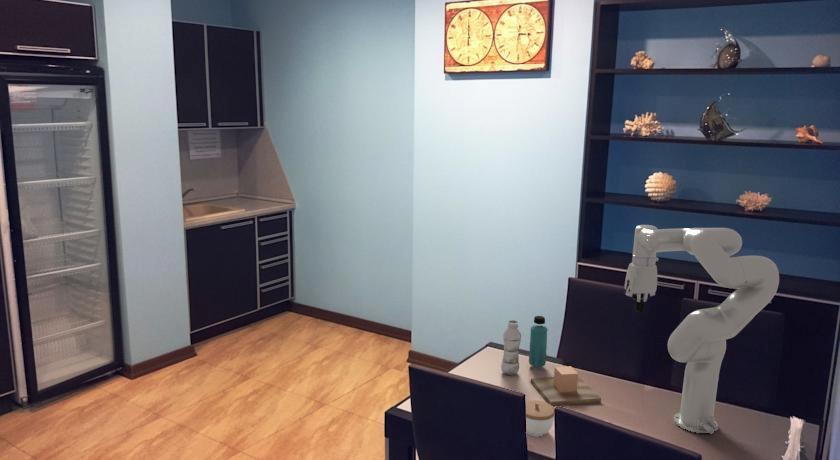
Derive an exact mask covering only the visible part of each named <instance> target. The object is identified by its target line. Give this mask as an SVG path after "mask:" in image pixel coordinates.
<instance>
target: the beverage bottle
mask: <svg viewBox="0 0 840 460" xmlns="http://www.w3.org/2000/svg"><path fill="white" fill-rule="evenodd" d="M533 323H535V324H533V325H532V326H530V336H529V338H530V339H529V351H528V364H529V365H530V366H532V367H536V368H541V367H545V366H546V362H547V348H548V346H547V345H548V331H549V330H548V327H547V326H546V325H545V324H546V317H544V316H542V315H535V316H534V318H533Z"/></svg>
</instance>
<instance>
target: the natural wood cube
mask: <svg viewBox="0 0 840 460" xmlns="http://www.w3.org/2000/svg"><path fill="white" fill-rule="evenodd" d="M553 370H554V373H553V377H554V384H553V385H554V386H555V387H556V388H557V389H558V390H559V391H560V392H573V391H577V384H578V376H579V373H578V371H576V370H575V369H574V368H573V367H572V366H570V365H569V366H554V369H553Z"/></svg>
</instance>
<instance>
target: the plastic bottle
mask: <svg viewBox="0 0 840 460" xmlns="http://www.w3.org/2000/svg"><path fill="white" fill-rule="evenodd" d="M506 327H507V328H506V330H504V332H503V334H502V336H503V337H502V338H503V339H502V340H503V356H502V361H501V365H500V367H501V372H502V373H503V374H504V375H507V376H514V375H515V376H516V375H518V373H519V371H520V362H519V361H520V360H519V352H520V351H519V350H520V346H521V345H520V344H521V341H522V333H521V332H520V330H519V329H518V328H519V322H518V321H517V320H512V319H511V320H508V321H507V326H506Z"/></svg>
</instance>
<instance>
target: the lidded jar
mask: <svg viewBox="0 0 840 460" xmlns="http://www.w3.org/2000/svg"><path fill="white" fill-rule="evenodd" d="M525 401H526V423H527V433H526V435H529V436H530V437H535V438H539V436H541V437H544V436H545V435H546V434H547V433H549V431H550V430H551V428H552V427H553V424H554V419H555V415H554V409H555V408H554V406H551V405H550V404H548V403H547V401H542V400H538V399H537V400H536V399H530V400H525ZM544 434H545V435H544ZM543 435H544V436H543Z"/></svg>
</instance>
